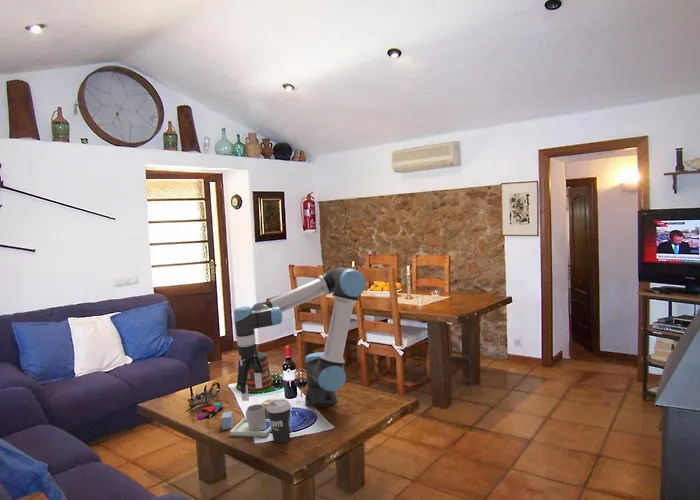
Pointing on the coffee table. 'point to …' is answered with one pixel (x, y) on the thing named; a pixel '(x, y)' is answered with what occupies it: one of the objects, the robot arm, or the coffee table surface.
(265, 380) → the beer stein
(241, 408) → the coffee table surface
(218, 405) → the toy
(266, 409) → the walnut block
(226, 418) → the blue painted block
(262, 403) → the beech block
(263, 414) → the cup
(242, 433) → the tray
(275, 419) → the coffee cup
